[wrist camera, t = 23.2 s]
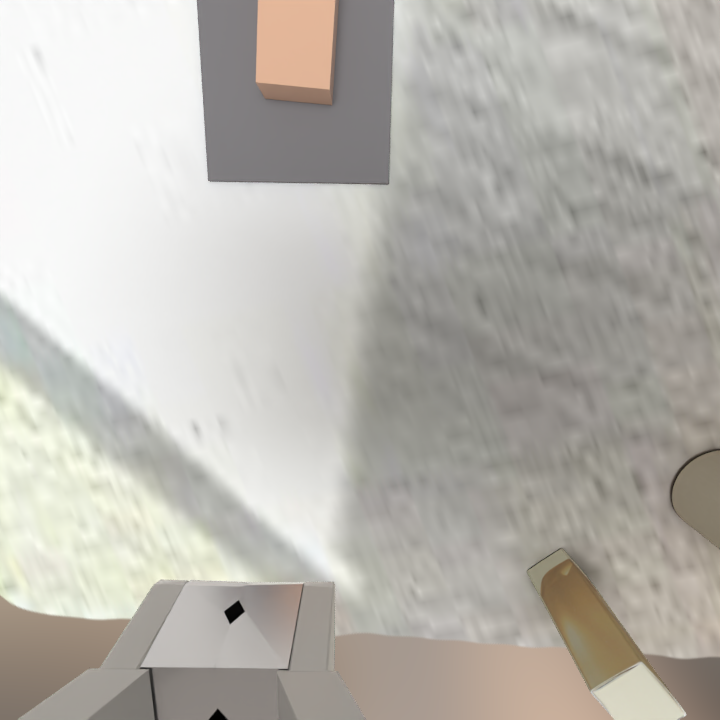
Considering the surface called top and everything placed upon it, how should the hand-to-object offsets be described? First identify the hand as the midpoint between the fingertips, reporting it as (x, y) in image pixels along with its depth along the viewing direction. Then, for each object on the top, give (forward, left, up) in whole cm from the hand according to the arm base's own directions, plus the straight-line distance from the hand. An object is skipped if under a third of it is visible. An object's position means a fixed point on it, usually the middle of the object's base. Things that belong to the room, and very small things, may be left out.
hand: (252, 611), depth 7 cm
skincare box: (-22, +24, -29) cm, 44 cm away
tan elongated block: (+3, -17, -27) cm, 32 cm away
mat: (+3, -22, -29) cm, 37 cm away
